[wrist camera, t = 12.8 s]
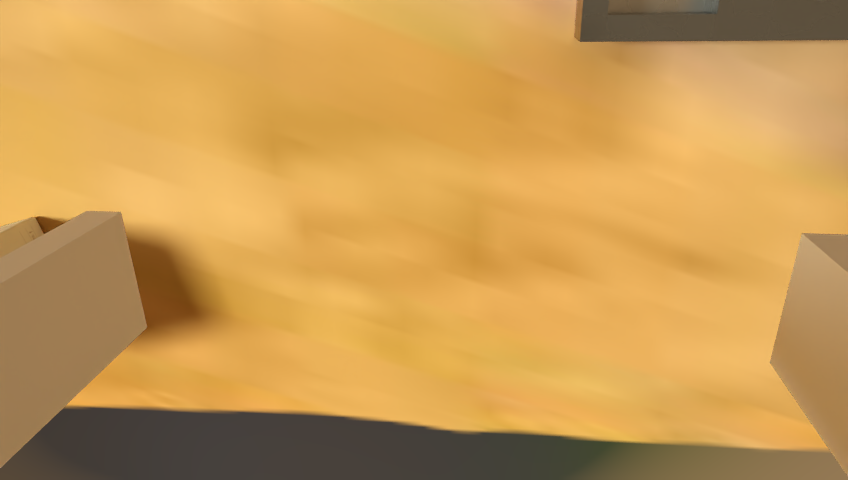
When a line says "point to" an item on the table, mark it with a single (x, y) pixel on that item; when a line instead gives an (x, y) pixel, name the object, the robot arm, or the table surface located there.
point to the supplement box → (18, 235)
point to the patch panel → (710, 20)
